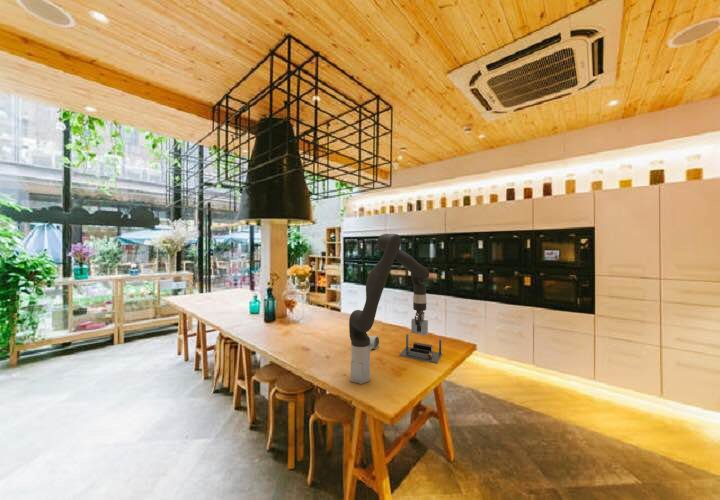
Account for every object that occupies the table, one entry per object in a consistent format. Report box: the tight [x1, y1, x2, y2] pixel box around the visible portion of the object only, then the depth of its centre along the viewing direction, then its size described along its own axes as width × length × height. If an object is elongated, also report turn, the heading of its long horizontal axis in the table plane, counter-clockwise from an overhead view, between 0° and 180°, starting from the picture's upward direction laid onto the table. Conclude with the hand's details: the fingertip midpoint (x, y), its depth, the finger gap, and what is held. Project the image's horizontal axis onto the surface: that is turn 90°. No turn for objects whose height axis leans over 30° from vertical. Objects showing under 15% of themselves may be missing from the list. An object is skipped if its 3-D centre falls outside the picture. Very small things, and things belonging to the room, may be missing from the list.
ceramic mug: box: [367, 334, 380, 351], centre depth 171 cm, size 11×8×8 cm
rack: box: [398, 334, 443, 364], centre depth 160 cm, size 14×22×9 cm, turn 63°
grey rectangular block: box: [410, 318, 429, 337], centre depth 157 cm, size 3×9×8 cm, turn 63°
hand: (419, 330), depth 157 cm, fingers closed on grey rectangular block, 3 cm apart
